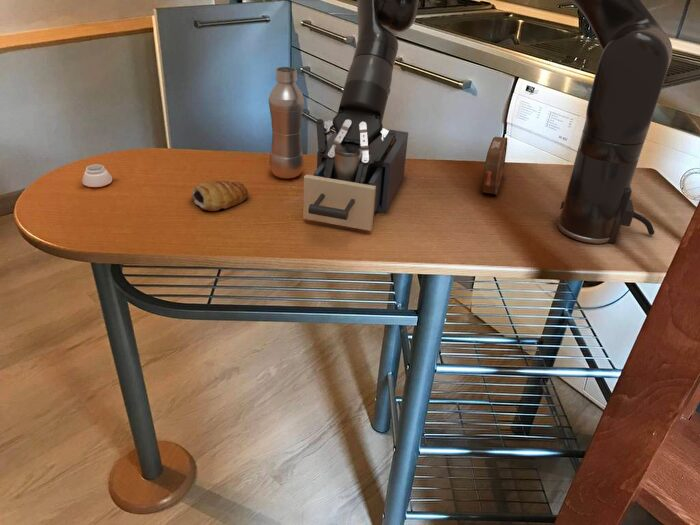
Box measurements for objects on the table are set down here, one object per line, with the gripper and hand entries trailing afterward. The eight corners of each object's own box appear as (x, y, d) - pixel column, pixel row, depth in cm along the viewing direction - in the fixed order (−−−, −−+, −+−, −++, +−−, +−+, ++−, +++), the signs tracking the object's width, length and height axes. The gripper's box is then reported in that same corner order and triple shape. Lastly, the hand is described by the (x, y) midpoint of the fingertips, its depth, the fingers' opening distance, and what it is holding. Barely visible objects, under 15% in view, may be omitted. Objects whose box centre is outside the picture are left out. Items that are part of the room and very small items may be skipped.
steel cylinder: (360, 198, 105) (364, 145, 100) (354, 209, 102) (357, 155, 97) (336, 194, 106) (338, 141, 101) (329, 204, 103) (331, 151, 98)
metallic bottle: (306, 169, 121) (307, 66, 110) (300, 184, 115) (301, 76, 105) (273, 166, 121) (272, 63, 111) (266, 181, 116) (263, 73, 105)
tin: (494, 202, 113) (502, 159, 109) (477, 198, 114) (485, 156, 110) (504, 171, 126) (512, 132, 121) (488, 169, 126) (496, 129, 122)
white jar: (78, 181, 111) (88, 191, 108) (75, 165, 110) (85, 175, 107) (106, 175, 114) (116, 185, 111) (104, 160, 113) (114, 169, 109)
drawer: (361, 248, 95) (365, 205, 91) (290, 235, 97) (291, 192, 93) (390, 194, 112) (393, 155, 108) (329, 183, 114) (330, 145, 110)
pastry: (236, 188, 112) (235, 168, 110) (256, 202, 108) (255, 182, 106) (188, 200, 107) (186, 180, 105) (207, 216, 103) (205, 195, 101)
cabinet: (385, 213, 107) (390, 163, 102) (315, 201, 110) (317, 151, 105) (403, 178, 120) (408, 132, 115) (340, 167, 123) (342, 122, 118)
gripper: (321, 72, 102) (296, 168, 98) (407, 84, 99) (383, 183, 95) (329, 95, 109) (306, 185, 105) (409, 106, 106) (388, 200, 102)
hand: (343, 184), depth 100 cm, fingers closed on steel cylinder, 4 cm apart
